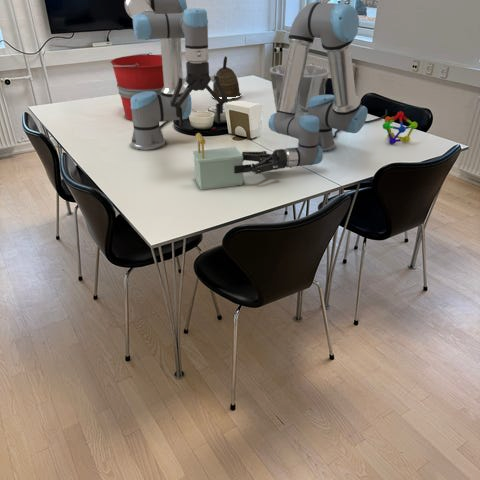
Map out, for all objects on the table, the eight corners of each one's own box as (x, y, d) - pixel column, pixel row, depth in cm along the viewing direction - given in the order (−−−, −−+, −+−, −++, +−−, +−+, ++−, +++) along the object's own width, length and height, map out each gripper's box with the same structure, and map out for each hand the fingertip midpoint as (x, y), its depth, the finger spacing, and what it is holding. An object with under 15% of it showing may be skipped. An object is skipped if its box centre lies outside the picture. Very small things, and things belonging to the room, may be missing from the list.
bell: (227, 105, 294) (202, 96, 282) (238, 66, 289) (213, 55, 277) (243, 108, 280) (217, 98, 268) (255, 66, 275) (229, 55, 263)
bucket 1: (124, 106, 262) (117, 51, 246) (183, 106, 262) (180, 52, 246) (108, 124, 233) (99, 63, 217) (174, 124, 232) (170, 64, 216)
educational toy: (377, 146, 209) (379, 114, 202) (384, 138, 219) (386, 107, 211) (411, 149, 202) (415, 116, 195) (417, 141, 212) (420, 109, 204)
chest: (201, 190, 166) (199, 163, 160) (195, 179, 174) (193, 153, 168) (242, 184, 170) (242, 158, 164) (235, 174, 178) (235, 149, 173)
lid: (198, 163, 160) (197, 141, 156) (192, 153, 168) (191, 132, 164) (242, 158, 164) (243, 136, 160) (235, 149, 173) (235, 128, 168)
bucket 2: (296, 138, 215) (301, 78, 201) (255, 124, 234) (256, 68, 219) (335, 125, 232) (342, 70, 217) (294, 113, 251) (297, 61, 236)
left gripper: (161, 65, 141) (167, 130, 152) (236, 61, 147) (236, 124, 158) (158, 61, 147) (163, 124, 158) (230, 57, 153) (230, 118, 164)
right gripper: (295, 178, 168) (239, 185, 163) (273, 157, 187) (223, 163, 181) (296, 159, 164) (239, 166, 159) (274, 140, 183) (222, 145, 177)
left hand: (200, 124), depth 158 cm, fingers open, 13 cm apart
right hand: (230, 164), depth 170 cm, fingers closed on chest, 10 cm apart
